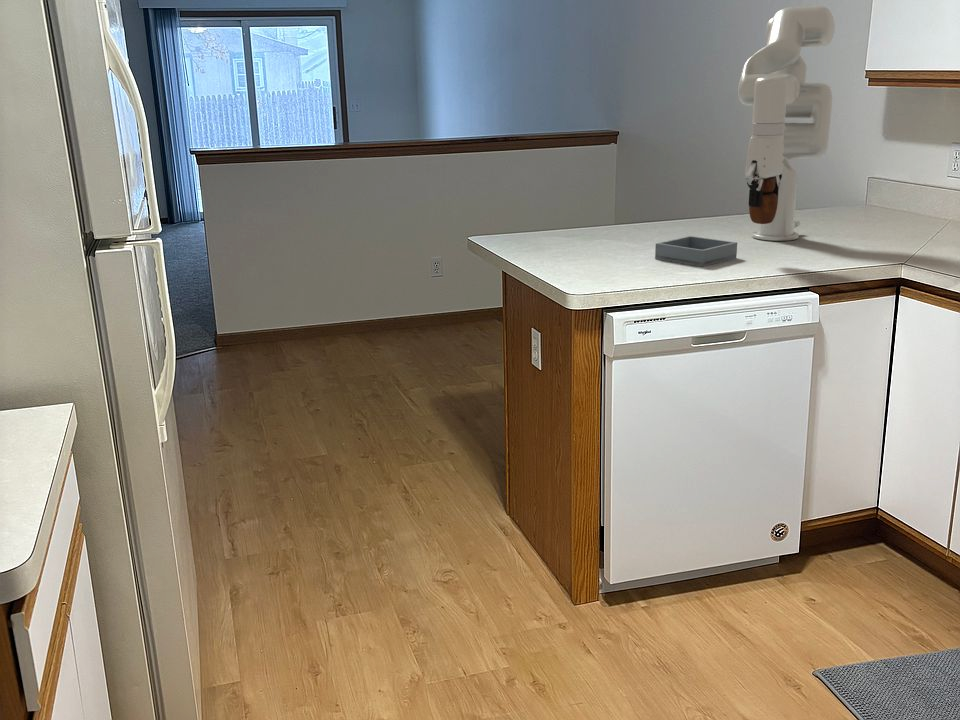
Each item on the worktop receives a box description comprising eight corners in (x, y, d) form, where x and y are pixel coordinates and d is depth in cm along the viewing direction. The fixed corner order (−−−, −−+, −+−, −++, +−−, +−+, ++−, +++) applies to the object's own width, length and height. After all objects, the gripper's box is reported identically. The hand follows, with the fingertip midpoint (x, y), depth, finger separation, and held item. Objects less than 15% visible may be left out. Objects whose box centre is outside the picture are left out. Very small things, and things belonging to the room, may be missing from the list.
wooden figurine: (776, 220, 230) (781, 160, 225) (775, 225, 225) (780, 163, 220) (748, 220, 232) (752, 160, 227) (747, 224, 227) (750, 163, 222)
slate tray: (689, 250, 246) (690, 235, 245) (736, 257, 236) (737, 242, 234) (655, 258, 237) (655, 243, 236) (702, 266, 227) (703, 250, 225)
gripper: (773, 126, 229) (769, 197, 235) (733, 132, 218) (729, 207, 224) (801, 127, 224) (795, 200, 230) (761, 134, 213) (756, 211, 219)
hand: (763, 203), depth 227 cm, fingers closed on wooden figurine, 6 cm apart
